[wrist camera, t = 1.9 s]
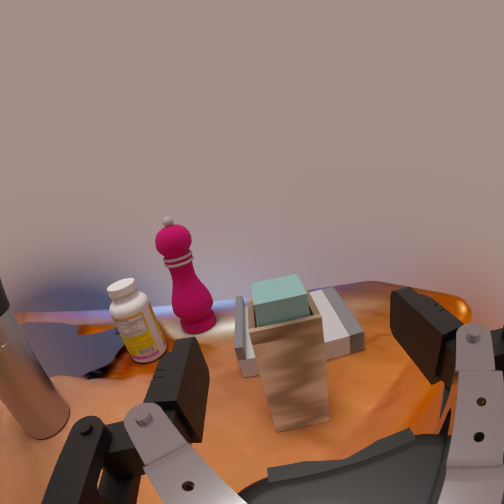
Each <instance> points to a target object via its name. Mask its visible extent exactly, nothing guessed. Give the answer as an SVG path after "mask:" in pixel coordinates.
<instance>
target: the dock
mask: <svg viewBox="0 0 504 504" xmlns="http://www.w3.org/2000/svg"><path fill="white" fill-rule="evenodd" d="M310 295H311V297H312V299H313V301H314V302H315V304H316V306H317V308H318V310H319V312H320V314H321V316H322V323H323V333H324V344H325V355H326V360H330V359H333V358H337V357H341V356H344V355H348V354H351V353H355V352H358V351H361V350H364V330H363V329H362V327H361V326H360V324H359V323H358V322H357V320H356V319H355V317H354V316H353V314H352V313H351V312H350V310H349V309H348V307H347V306H346V304H345V303H344V302H343V300H342V299H341V297H340V296H339V295H338V293H337V292H336V290H335V289H334V288H333V287H330V288H326V289H322V290H318V291H314V292H310ZM234 349H235V352H236V355H237V358H238V361H239V364H240V368H241V371H242V374H243V377H244V378H245V377H251V376H257V375H260V373H259V369H258V365H257V362H256V358H255V354H254V351H253V347H252V343H251V339H250V336H249V329H248V306H245V305H244V301H243V297H242V296H239V297H236V315H235V345H234Z"/></svg>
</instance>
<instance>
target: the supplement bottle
mask: <svg viewBox="0 0 504 504" xmlns="http://www.w3.org/2000/svg"><path fill="white" fill-rule="evenodd" d="M107 291H108V294H109V296H110V297H111V299H112V300H113V302H112V304H111V306H110V314H111V316H112V318H113V320H114V323H115V325H116V327H117V329H118V331H119V333H120V335H121V337H122V339H123V341H124V343H125V345H126V347H127V349H128V351H129V353H130V355H131V357H132V359H133V360H135V361H136V362H140V363H147V362H151V361H154V360H156V359H158V358H159V357H160V356H161V355H162V354H163V353H164V352H165V351H166V348H167V344H166V341H165V339H164V336H163V334H162V332H161V329H160V327H159V324H158V322H157V320H156V317H155V315H154V312H153V310H152V307H151V305H150V302H149V300H148V297H147V296H146V295H145V294H144V293H142V292H138V291H137V285H136V282H135V280H134V279H133V278H127V279H122V280H119V281H117V282H115V283H113V284H112V285H110V286H109V287H108V288H107Z"/></svg>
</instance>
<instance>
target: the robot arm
mask: <svg viewBox="0 0 504 504" xmlns="http://www.w3.org/2000/svg"><path fill="white" fill-rule="evenodd" d="M390 328H391V332H392V334H393V336H394V338H395V339H396V340H397V341H398V343H399V344H400V345H401V346H402V348H403V349H404V350H405V351H406V353H407V354H408V355H409V356H410V358H411V359H412V360H413V362H414V363H415V364H416V365H417V367H418V368H419V369H420V371H421V372H422V373H423V374H424V376H425V377H426V378H427V380H428V381H429V382H430V384H431V385H433V384H435V383H437V382H439V381H441V380H442V381H443V382H444V386H443V389H442V396H441V403H440V409H439V414H438V419H437V424H436V428H435V431H434V434H420V435H413V433H412V431H411V429H410V427H409V428H407V429H405V430H402V431H400V432H398V433H395V434H393V435H390V436H388V437H385V438H382V439H380V440H377V441H376V442H374V443H373V444H371V445H369V446H368V447H366V448H364V449H362V450H361V451H359V452H357V453H355V454H354V455H352V456H350V457H348V458H346V459H343V460H331V461H304V462H299V463H294V464H289V465H283V466H277V467H271V468H267V472H268V477H266V478H264V479H261V480H259V481H257V482H255V483H253V484H251V485H249V486H247V487H246V488H244V489H243V490H242V491H240V492H239V493H238V494H236V493H235V492H234V491H233V490H232V489H231V488H230V487H229V486H228V485H227V484H226V483H225V482H224V481H223V480H222V479H221V478H220V477H219V476H218V475H217V474H216V473H215V472H214V470H213V469H212V468H211V467H210V466H209V465H208V464H207V463H206V462H205V461H204V460H203V458H202V457H201V456H200V455H199V454H198V453H197V452H196V450H195V449H194V448H193V447H192V446H191V443H202V437H203V429H204V420H205V412H206V404H207V396H208V389H209V381H210V377H209V370H208V367H207V364H206V362H205V359H204V357H203V354H202V351H201V349H200V346H199V344H198V341H197V339H196V338H195V337H189V338H183V339H177V340H176V341H175V344H174V346H173V349H172V352H170V353H166V354H165V355H164V356H163V357H162V358H161V359H160V361H159V362H158V365H157V367H156V372H155V373H154V375H153V379H152V381H151V383H150V386H149V389H148V391H147V394H146V397H145V399H144V402H143V403H142V404H139V405H137V406H135V407H133V408H132V409H131V410H130V411H129V412H128V413H127V414H126V416H125V418H124V421H121V422H117V423H113V424H108V425H105V424H104V423H103V422H102V420H101V419H100V418H98V417H96V416H87V417H84V418H81V419H80V420H78V421H77V422H76V423H75V424H74V425H73V427H72V429H71V431H70V433H69V435H68V438H67V440H66V442H65V444H64V447H63V449H62V451H61V454H60V456H59V459H58V461H57V463H56V466H55V468H54V471H53V473H52V476H51V479H50V481H49V484H48V486H47V489H46V492H45V495H44V498H43V500H42V503H41V504H136V503H137V496H138V490H139V485H140V479H141V475H144V474H146V475H147V477H148V478H149V480H150V482H151V483H152V485H153V487H154V488H155V490H156V491H157V493H158V494H159V496H160V497H161V499H162V500H163V502H164V503H165V504H504V326H503V328H501V329H497V330H493V331H489V330H488V329H487V328H486V327H485V326H483V325H481V324H477V323H468V324H463V323H462V322H461V321H460V320H458V319H457V318H456V317H455V316H454V315H452V314H451V313H450V312H449V311H447V310H445V308H444V307H442V306H441V305H439V303H437V302H436V301H435V300H434V299H432V298H431V297H428V296H425V295H423V294H420V295H419V294H418V293H417V292H416V291H414V290H413V289H412V288H410V287H409V286H407V287H404V288H401V289H398V290H395V291H392V292H391V296H390ZM0 399H1V400H2V402H3V403H4V404H5V406H6V407H7V408H8V410H9V411H10V412H11V414H12V415H13V416H14V417H15V419H16V420H17V421H18V422H19V423H20V425H21V426H22V427H23V428H24V429H25V431H26V432H27V433H28V434H29V435H30V436H31V437H33V438H36V439H45V438H48V437H51V436H52V435H54V434H56V433H57V432H58V431H59V430H60V429H61V428H62V427H63V426H64V425H65V423H66V421H67V419H68V416H69V407H68V405H67V403H66V402H65V400H64V399H63V398H62V396H61V395H60V393H59V392H58V390H57V389H56V387H55V386H54V384H53V383H52V381H51V380H50V378H49V377H48V375H47V374H46V372H45V370H44V369H43V367H42V365H41V364H40V362H39V360H38V359H37V357H36V355H35V354H34V352H33V350H32V348H31V347H30V345H29V343H28V341H27V339H26V337H25V335H24V333H23V331H22V329H21V327H20V325H19V323H18V321H17V319H16V317H15V315H14V313H13V310H12V308H11V306H10V304H9V301H8V299H7V297H6V294H5V291H4V288H3V285H2V283H1V279H0ZM101 469H102V470H103V473H102V477H101V480H100V484H99V488H98V489H97V482H98V479H99V475H100V472H101Z"/></svg>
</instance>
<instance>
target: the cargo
mask: <svg viewBox="0 0 504 504" xmlns="http://www.w3.org/2000/svg"><path fill="white" fill-rule="evenodd" d="M252 296H253V306H254V310H255V315H256V319H257V323H258V327H262V326H267V325H272V324H276V323H281V322H286V321H290V320H295V319H299V318H304V317H308V316H310V312H309V304H308V297H307V293H306V291H305V289H304V287H303V285H302V283H301V281H300V279H299V277H298V275H297V274H293V275H289V276H285V277H280V278H275V279H270V280H266V281H261V282H256V283H252Z"/></svg>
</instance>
